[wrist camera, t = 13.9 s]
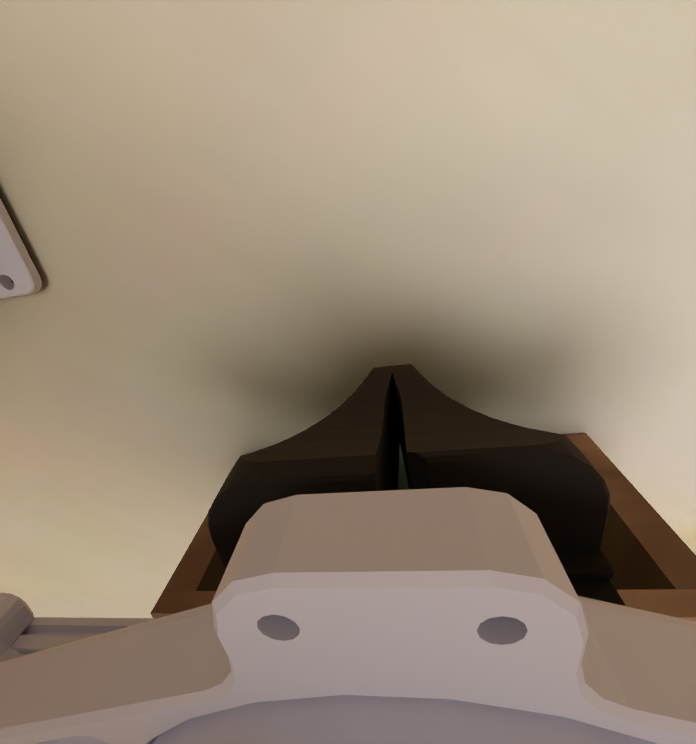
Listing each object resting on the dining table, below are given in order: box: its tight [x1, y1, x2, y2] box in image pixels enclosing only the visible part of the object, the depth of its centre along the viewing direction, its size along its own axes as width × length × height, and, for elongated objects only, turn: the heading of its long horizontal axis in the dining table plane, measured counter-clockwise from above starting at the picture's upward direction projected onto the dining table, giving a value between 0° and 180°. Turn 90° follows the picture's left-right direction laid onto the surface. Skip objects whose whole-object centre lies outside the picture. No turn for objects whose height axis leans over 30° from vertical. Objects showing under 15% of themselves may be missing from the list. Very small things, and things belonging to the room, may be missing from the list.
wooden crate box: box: [151, 433, 696, 622], centre depth 13 cm, size 14×10×7 cm
